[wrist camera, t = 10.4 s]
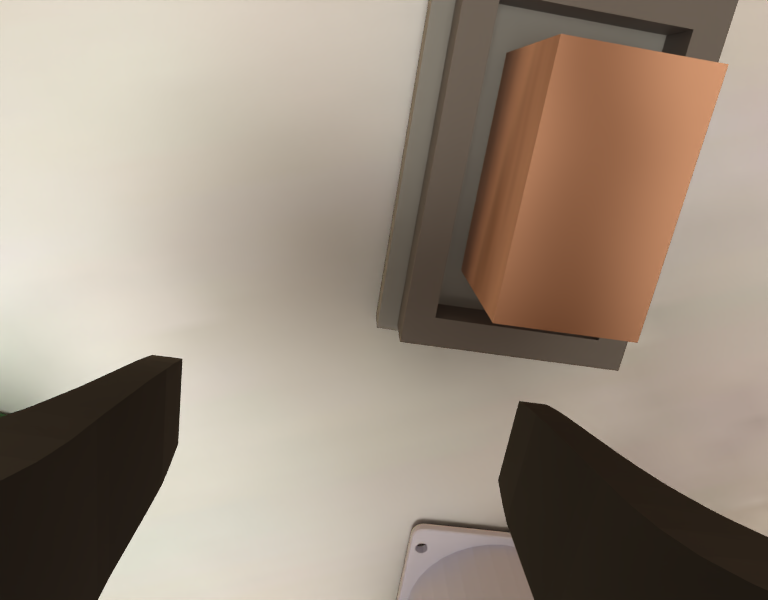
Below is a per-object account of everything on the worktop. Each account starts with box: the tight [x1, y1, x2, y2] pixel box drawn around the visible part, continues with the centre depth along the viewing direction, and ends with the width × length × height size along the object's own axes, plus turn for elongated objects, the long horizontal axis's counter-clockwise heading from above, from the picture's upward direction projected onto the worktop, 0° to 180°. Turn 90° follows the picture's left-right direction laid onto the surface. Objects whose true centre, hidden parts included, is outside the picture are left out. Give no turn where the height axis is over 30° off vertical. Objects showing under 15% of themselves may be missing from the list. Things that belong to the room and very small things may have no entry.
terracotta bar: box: [461, 34, 728, 343], centre depth 16 cm, size 4×7×5 cm, turn 171°
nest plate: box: [376, 0, 738, 371], centre depth 18 cm, size 12×9×3 cm
